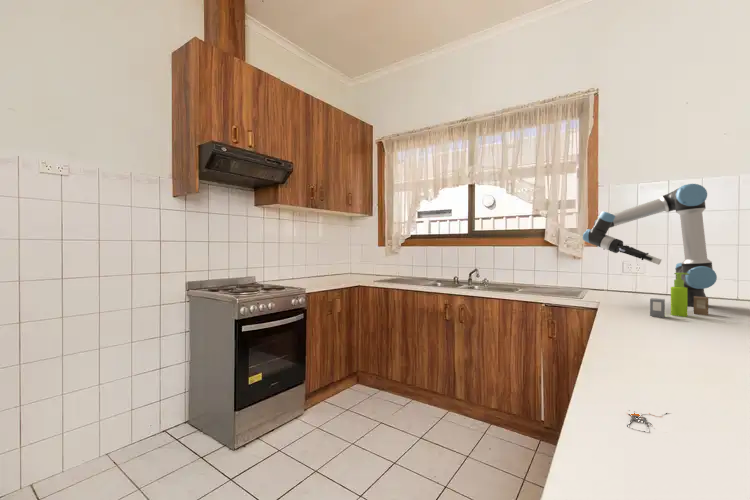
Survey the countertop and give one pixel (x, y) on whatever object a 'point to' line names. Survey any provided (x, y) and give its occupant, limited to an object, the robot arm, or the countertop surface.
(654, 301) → the grey rectangular block
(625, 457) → the countertop surface
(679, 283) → the soap dispenser
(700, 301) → the brown wooden block
